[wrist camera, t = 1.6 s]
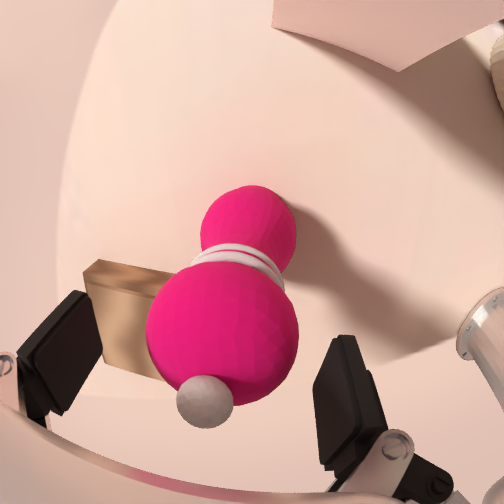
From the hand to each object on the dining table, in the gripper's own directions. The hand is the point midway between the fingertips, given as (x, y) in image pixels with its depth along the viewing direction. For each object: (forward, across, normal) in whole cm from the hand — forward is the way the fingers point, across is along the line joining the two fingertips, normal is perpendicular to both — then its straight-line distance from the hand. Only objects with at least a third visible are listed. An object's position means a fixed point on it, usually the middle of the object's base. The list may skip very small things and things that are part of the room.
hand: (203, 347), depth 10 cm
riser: (+17, +9, +14) cm, 24 cm away
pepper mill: (+17, -1, 0) cm, 17 cm away
